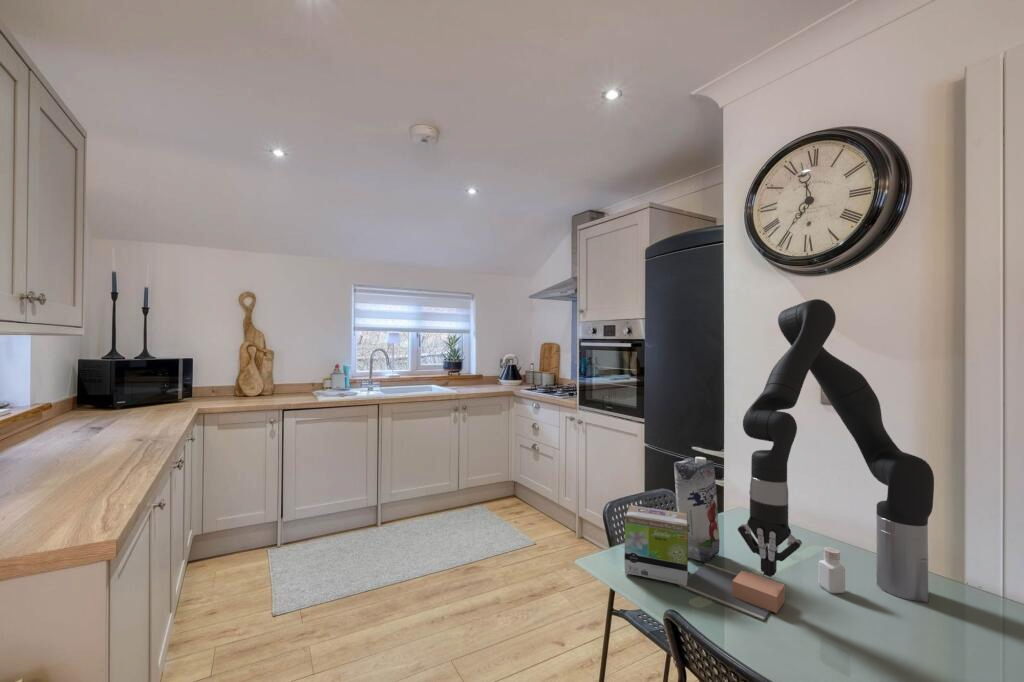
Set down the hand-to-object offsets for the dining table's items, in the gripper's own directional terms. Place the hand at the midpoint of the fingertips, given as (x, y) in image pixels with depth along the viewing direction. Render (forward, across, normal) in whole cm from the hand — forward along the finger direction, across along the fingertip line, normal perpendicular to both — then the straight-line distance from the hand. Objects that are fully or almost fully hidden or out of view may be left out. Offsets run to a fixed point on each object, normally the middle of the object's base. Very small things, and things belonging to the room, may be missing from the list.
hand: (768, 574), depth 97 cm
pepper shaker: (+7, -9, -18) cm, 21 cm away
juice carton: (+6, +20, -12) cm, 24 cm away
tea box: (+6, +24, +6) cm, 25 cm away
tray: (+7, +8, 0) cm, 10 cm away
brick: (+4, -2, 0) cm, 5 cm away
